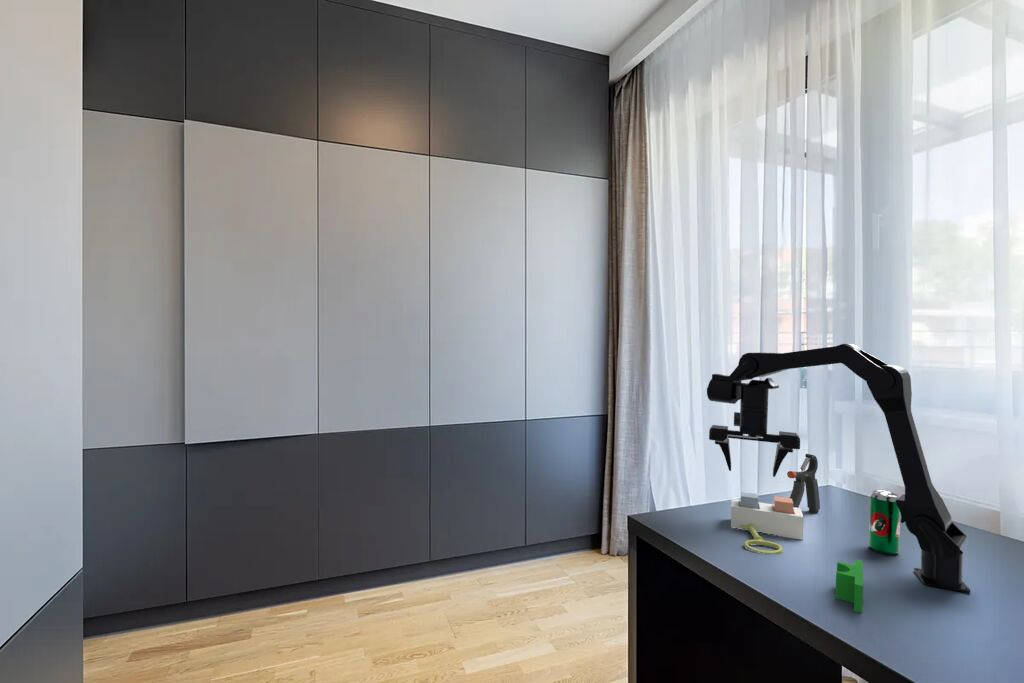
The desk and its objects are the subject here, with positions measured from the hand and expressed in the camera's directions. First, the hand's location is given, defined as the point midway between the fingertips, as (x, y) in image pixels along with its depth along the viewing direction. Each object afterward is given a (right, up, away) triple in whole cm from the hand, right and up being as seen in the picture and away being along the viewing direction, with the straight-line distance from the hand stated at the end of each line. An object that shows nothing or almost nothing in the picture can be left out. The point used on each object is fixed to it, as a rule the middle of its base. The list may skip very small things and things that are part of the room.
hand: (751, 473), depth 117 cm
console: (+2, -12, -2) cm, 13 cm away
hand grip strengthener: (+16, -13, +8) cm, 22 cm away
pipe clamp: (+2, -13, -31) cm, 33 cm away
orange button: (+6, -10, -3) cm, 12 cm away
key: (-3, -13, -9) cm, 16 cm away
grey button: (-1, -10, 0) cm, 10 cm away
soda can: (+22, -13, -12) cm, 28 cm away
